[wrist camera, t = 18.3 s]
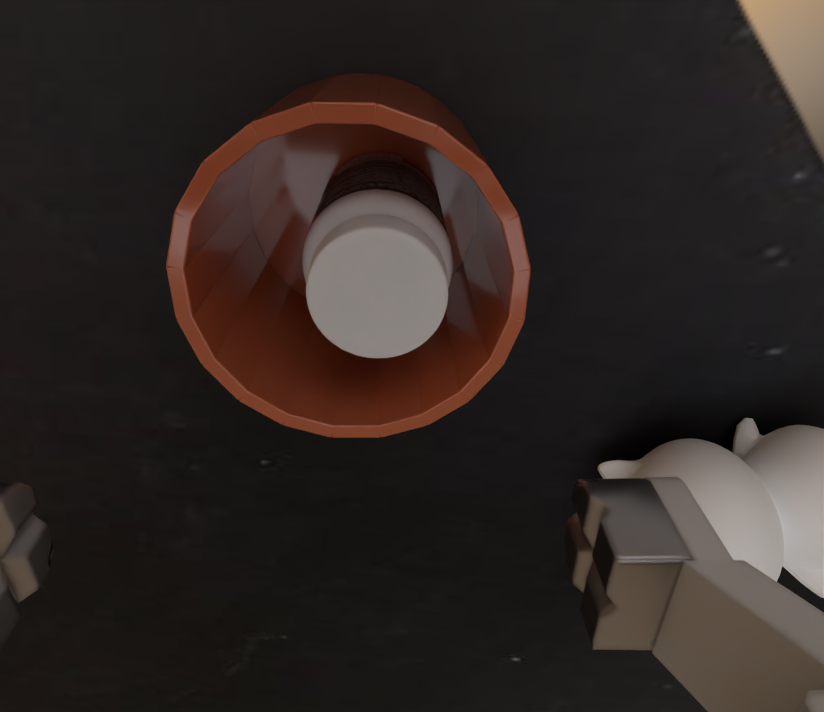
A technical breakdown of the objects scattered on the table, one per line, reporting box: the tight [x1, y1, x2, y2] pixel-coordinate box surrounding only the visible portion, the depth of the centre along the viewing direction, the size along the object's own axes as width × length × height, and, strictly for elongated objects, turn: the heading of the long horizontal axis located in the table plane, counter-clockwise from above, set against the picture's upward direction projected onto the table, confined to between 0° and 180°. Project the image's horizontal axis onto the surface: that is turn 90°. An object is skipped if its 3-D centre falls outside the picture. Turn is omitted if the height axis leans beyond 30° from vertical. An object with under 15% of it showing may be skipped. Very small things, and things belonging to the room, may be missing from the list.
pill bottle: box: [302, 153, 453, 358], centre depth 20 cm, size 5×5×8 cm
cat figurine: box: [598, 418, 824, 598], centre depth 29 cm, size 9×11×12 cm
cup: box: [166, 73, 531, 438], centre depth 21 cm, size 10×10×9 cm
